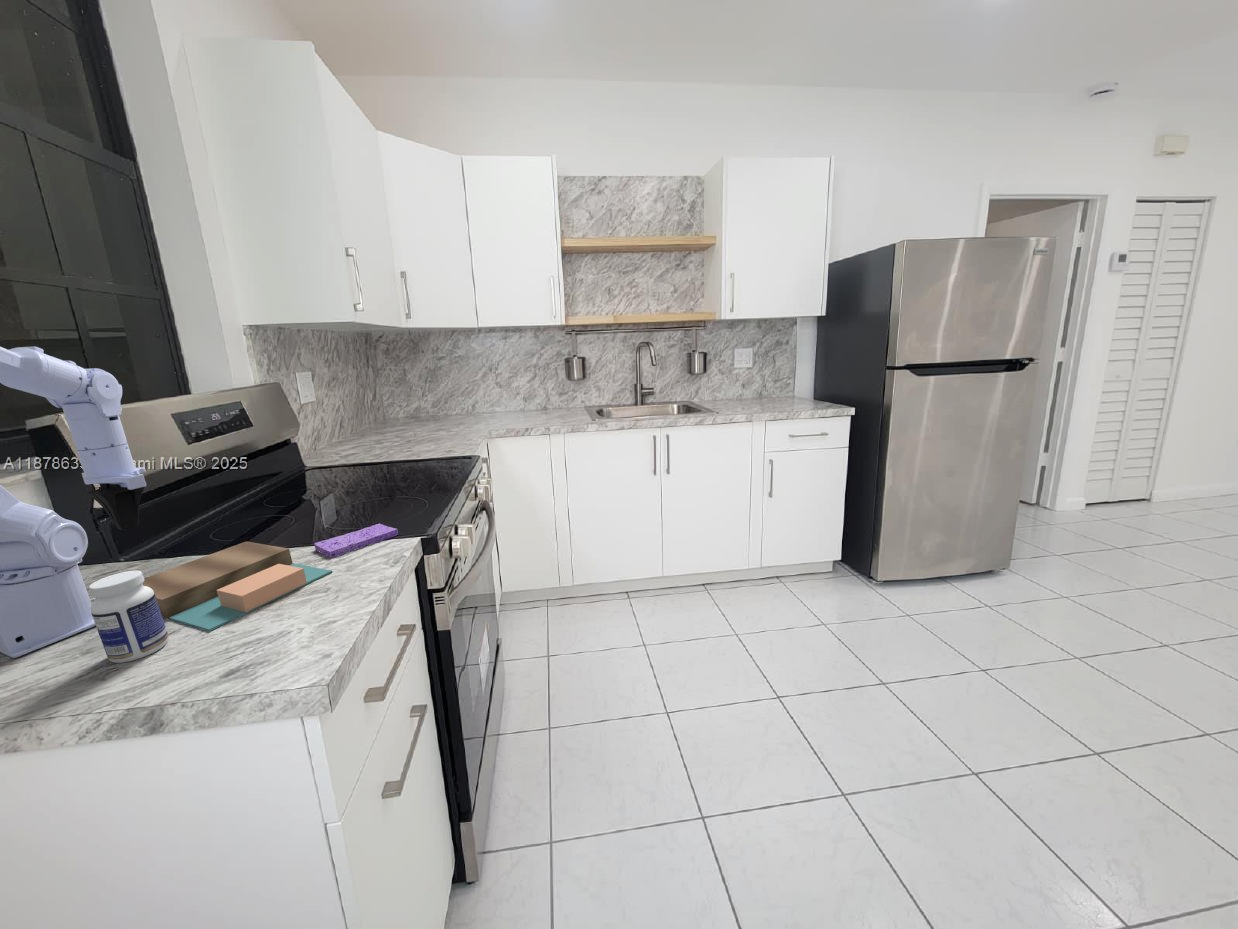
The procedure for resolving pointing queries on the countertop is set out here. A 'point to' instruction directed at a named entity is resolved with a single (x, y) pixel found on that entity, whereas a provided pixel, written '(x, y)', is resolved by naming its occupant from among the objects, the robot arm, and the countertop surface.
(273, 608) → the countertop surface
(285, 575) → the tile
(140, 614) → the pill bottle
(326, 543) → the sponges
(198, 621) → the teal mat
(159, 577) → the board
